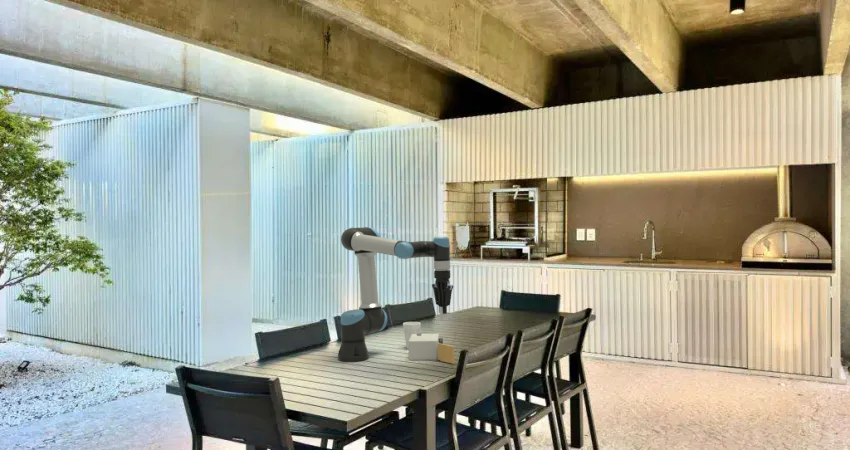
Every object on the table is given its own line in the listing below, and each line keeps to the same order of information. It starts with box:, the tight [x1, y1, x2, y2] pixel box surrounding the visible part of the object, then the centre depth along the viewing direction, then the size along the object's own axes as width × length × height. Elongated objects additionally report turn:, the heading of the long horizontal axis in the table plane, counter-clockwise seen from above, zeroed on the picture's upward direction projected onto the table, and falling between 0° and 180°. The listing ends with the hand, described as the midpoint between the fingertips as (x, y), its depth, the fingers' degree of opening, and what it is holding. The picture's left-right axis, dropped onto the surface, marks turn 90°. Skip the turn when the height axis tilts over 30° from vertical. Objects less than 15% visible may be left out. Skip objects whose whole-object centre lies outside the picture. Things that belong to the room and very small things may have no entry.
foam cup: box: [402, 321, 422, 350], centre depth 320 cm, size 10×9×13 cm
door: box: [436, 343, 455, 364], centre depth 284 cm, size 1×13×8 cm, turn 36°
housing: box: [408, 332, 444, 361], centre depth 299 cm, size 20×16×10 cm
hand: (443, 320), depth 279 cm, fingers closed
